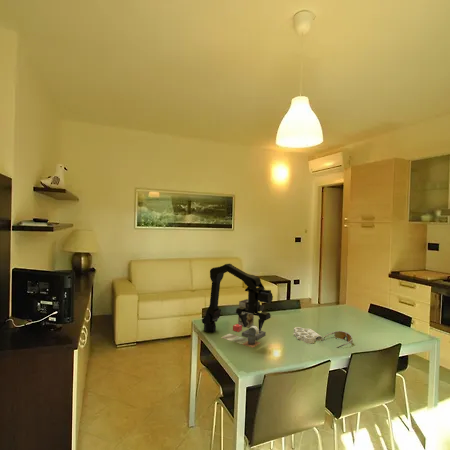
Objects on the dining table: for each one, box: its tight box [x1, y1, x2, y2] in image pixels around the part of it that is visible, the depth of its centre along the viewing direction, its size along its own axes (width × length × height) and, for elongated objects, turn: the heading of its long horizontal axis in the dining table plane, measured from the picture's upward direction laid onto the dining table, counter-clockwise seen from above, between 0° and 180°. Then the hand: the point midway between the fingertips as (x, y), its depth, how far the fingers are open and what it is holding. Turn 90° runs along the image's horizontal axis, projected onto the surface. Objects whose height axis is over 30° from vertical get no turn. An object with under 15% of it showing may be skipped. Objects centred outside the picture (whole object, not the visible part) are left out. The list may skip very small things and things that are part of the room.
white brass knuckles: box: [293, 326, 324, 344], centre depth 182 cm, size 3×18×15 cm
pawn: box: [247, 326, 256, 345], centre depth 167 cm, size 5×5×9 cm
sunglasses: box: [321, 330, 353, 349], centre depth 176 cm, size 14×15×5 cm
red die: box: [232, 323, 243, 333], centre depth 187 cm, size 4×4×4 cm
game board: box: [220, 333, 261, 348], centre depth 171 cm, size 22×10×1 cm, turn 54°
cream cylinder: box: [249, 325, 259, 335], centre depth 179 cm, size 6×6×6 cm
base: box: [241, 329, 266, 341], centre depth 179 cm, size 10×10×3 cm
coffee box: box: [237, 298, 255, 329], centre depth 198 cm, size 9×6×16 cm
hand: (252, 328), depth 167 cm, fingers open, 9 cm apart
